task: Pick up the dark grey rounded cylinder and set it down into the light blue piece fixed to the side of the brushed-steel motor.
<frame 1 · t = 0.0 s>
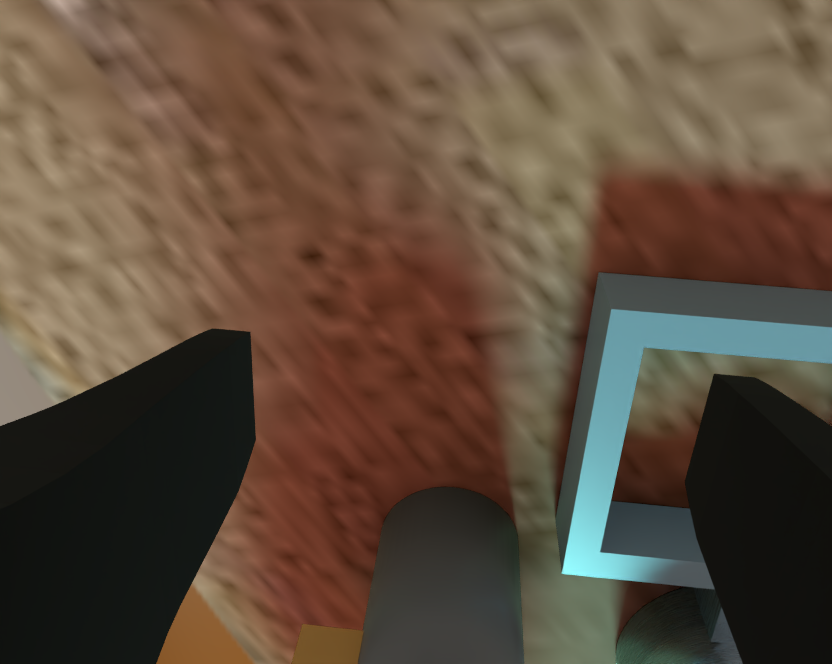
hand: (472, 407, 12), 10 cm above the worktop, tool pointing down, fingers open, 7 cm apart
dark grey rounded cylinder: (449, 542, 26), on the worktop
motor: (713, 654, 27), on the worktop
light blue piece: (722, 420, 23), on the worktop
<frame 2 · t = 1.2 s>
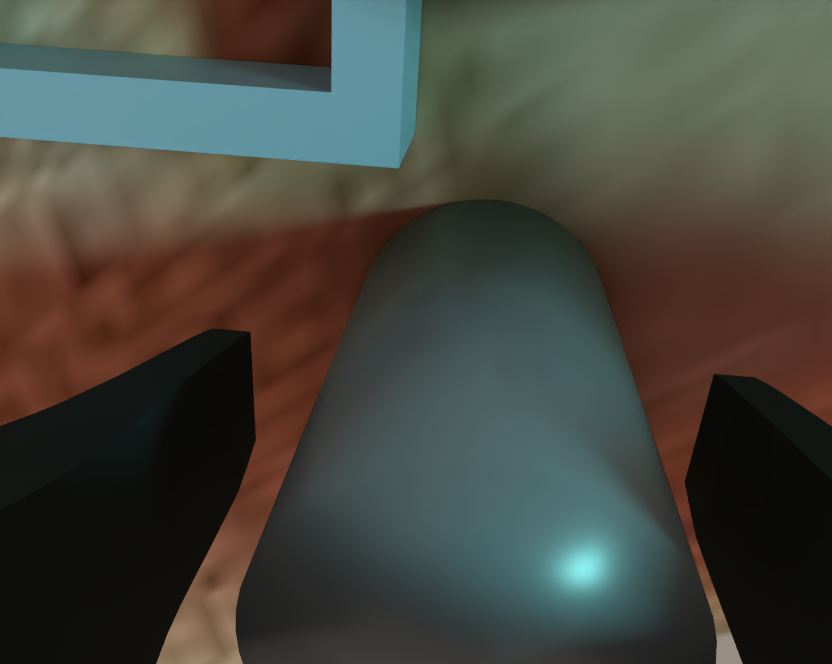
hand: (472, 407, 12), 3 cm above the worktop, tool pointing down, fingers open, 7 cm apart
dark grey rounded cylinder: (481, 318, 15), on the worktop
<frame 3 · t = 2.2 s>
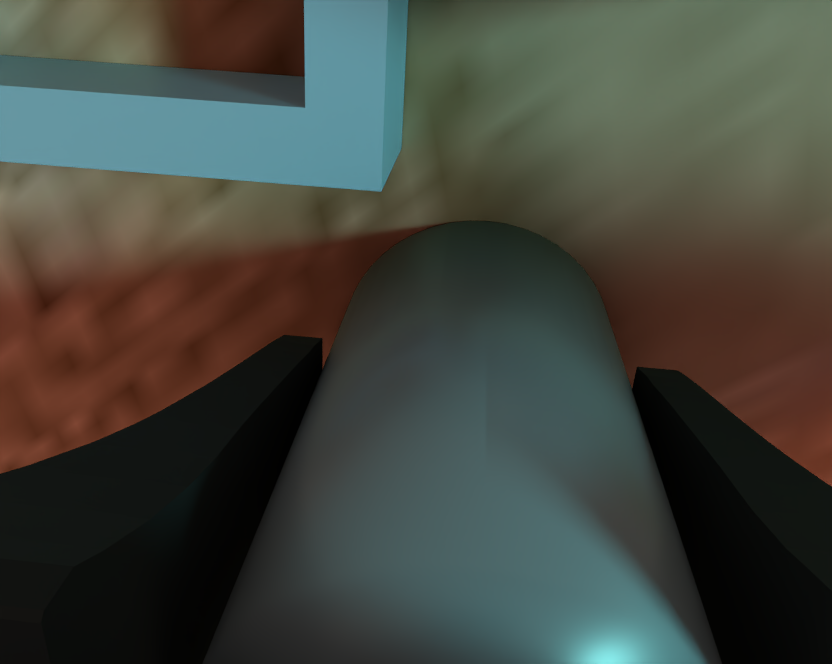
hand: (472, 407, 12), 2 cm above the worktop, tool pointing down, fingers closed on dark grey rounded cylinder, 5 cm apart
dark grey rounded cylinder: (474, 347, 14), on the worktop, touching gripper
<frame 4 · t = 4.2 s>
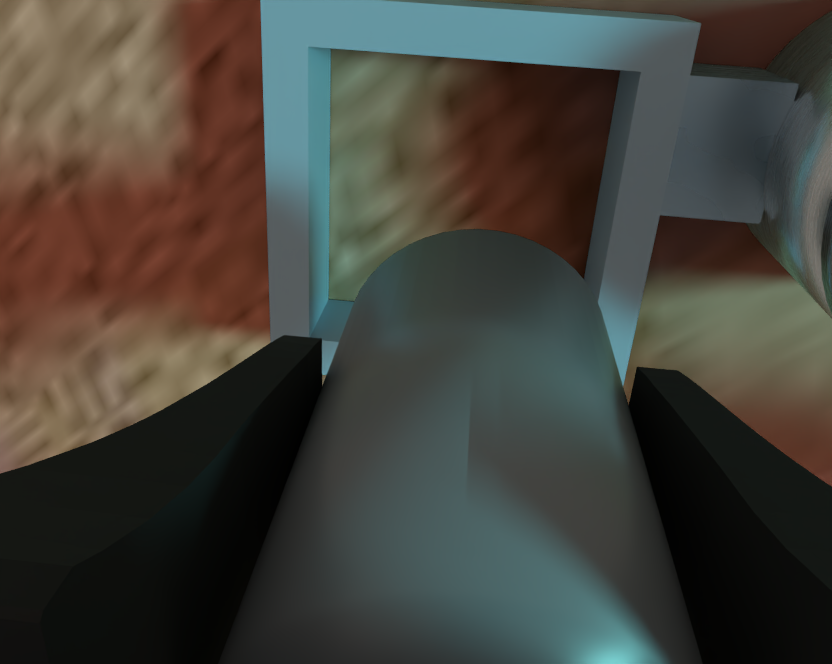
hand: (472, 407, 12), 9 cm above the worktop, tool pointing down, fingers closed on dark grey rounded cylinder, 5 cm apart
dark grey rounded cylinder: (474, 351, 14), point 7 cm above the worktop, touching gripper
light blue piece: (462, 189, 19), on the worktop
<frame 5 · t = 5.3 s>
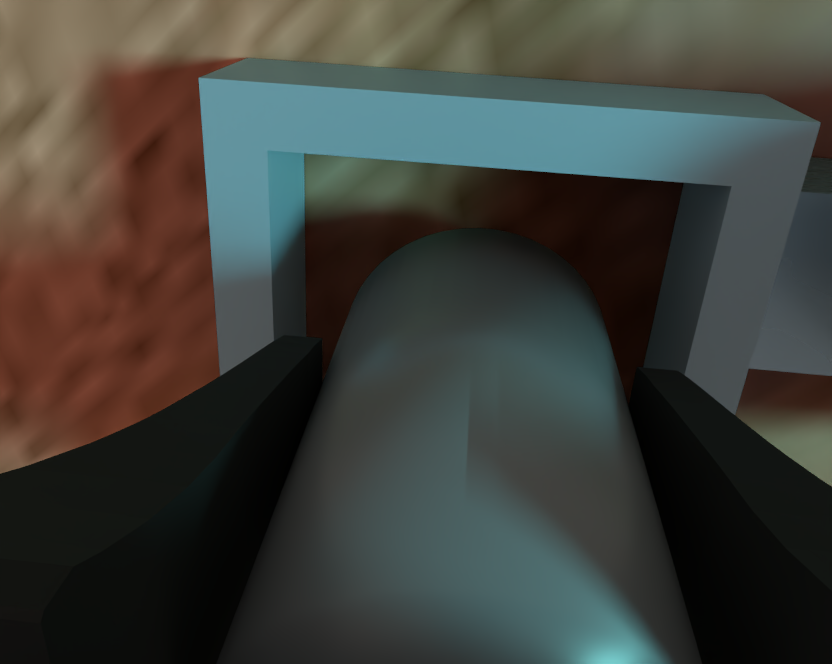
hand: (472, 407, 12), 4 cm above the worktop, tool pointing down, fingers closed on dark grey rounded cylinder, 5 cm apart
dark grey rounded cylinder: (473, 350, 14), point 1 cm above the worktop, touching gripper
light blue piece: (476, 309, 15), on the worktop
when the fingers open (3 cm above the worktop, at t = 6.2 s): dark grey rounded cylinder drops 1 cm, resting in light blue piece.
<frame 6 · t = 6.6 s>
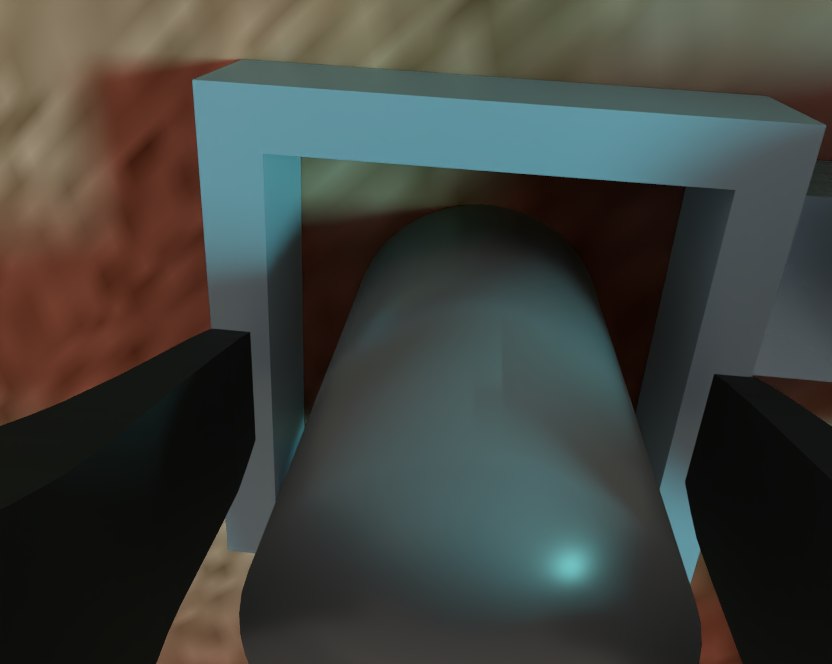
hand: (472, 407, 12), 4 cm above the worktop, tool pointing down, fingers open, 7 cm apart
dark grey rounded cylinder: (475, 321, 15), resting in light blue piece
light blue piece: (476, 313, 15), on the worktop
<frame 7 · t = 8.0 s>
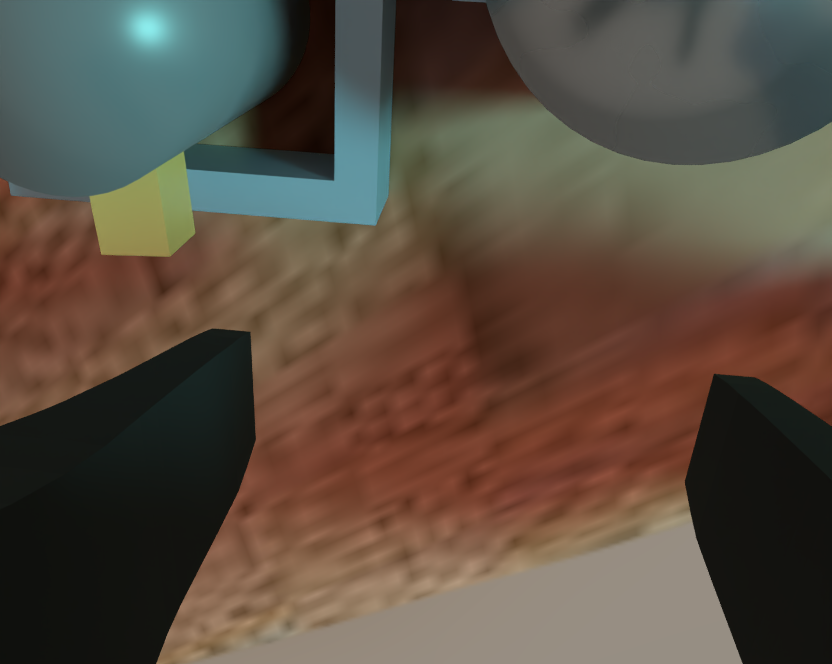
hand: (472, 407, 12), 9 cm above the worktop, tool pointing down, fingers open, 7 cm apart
dark grey rounded cylinder: (213, 9, 18), resting in light blue piece
light blue piece: (212, 1, 18), on the worktop
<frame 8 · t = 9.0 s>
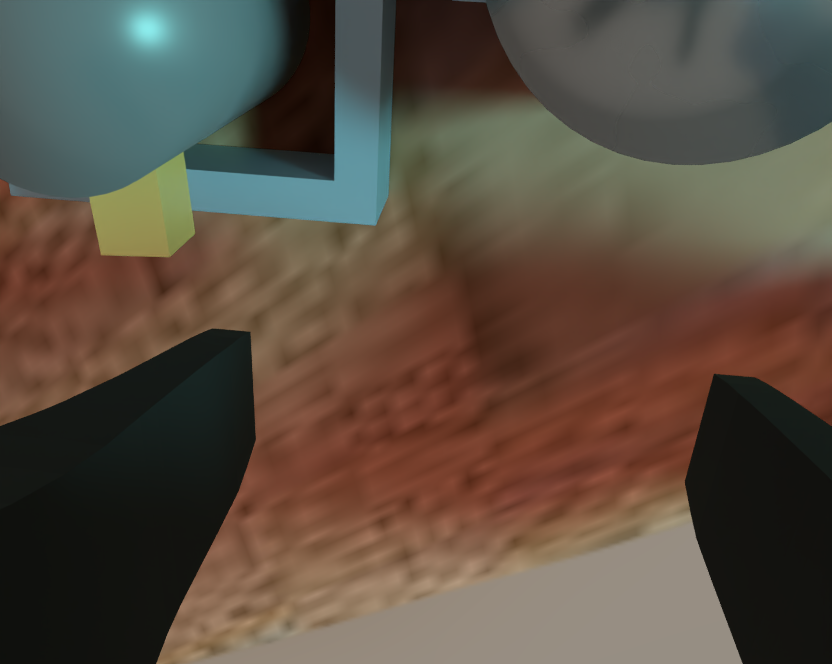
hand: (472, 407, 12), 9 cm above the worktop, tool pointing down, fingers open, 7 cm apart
dark grey rounded cylinder: (213, 9, 18), resting in light blue piece
light blue piece: (212, 1, 18), on the worktop
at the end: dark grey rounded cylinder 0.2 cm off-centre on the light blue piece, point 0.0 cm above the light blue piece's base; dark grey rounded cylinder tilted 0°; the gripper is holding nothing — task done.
